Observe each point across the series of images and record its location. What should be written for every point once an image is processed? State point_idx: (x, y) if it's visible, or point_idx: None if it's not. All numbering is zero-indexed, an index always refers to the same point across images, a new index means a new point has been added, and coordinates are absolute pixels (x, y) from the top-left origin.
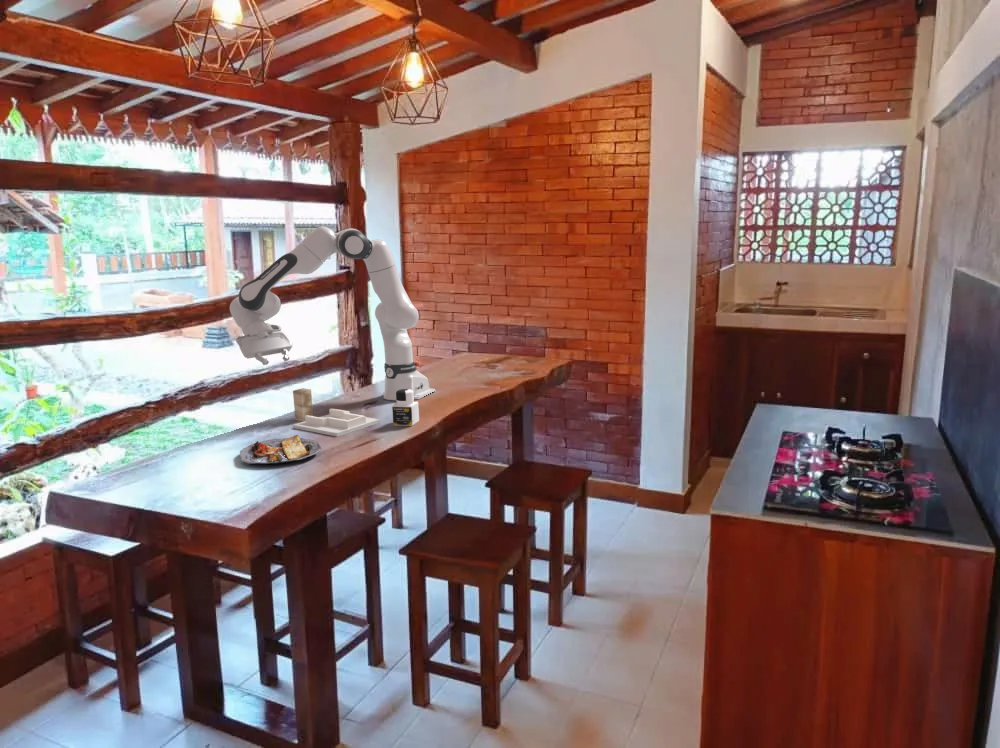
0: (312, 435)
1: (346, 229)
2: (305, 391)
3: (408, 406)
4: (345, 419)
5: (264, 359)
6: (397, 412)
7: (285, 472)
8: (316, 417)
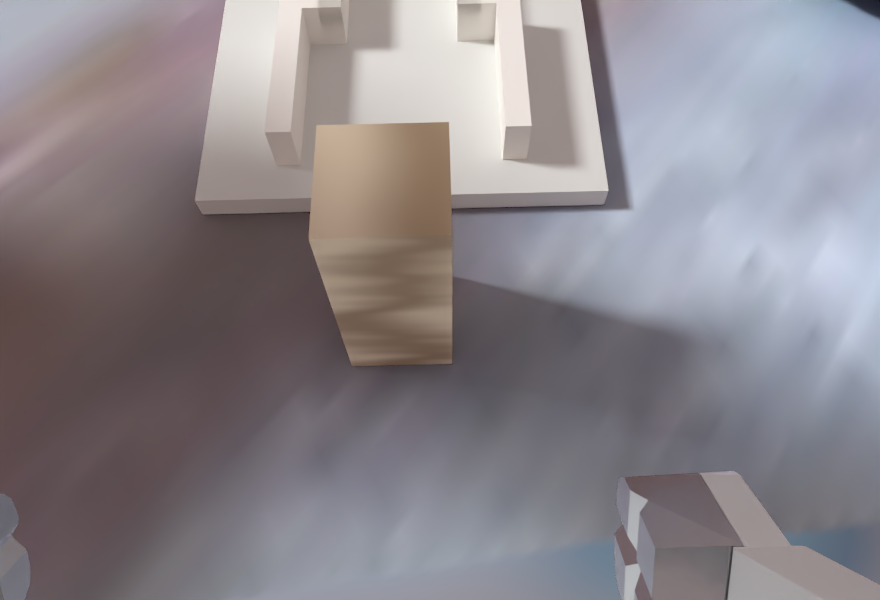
0: (628, 10)
1: None
2: (392, 129)
3: None
4: (347, 8)
5: (745, 524)
6: None
7: None
8: (512, 41)
